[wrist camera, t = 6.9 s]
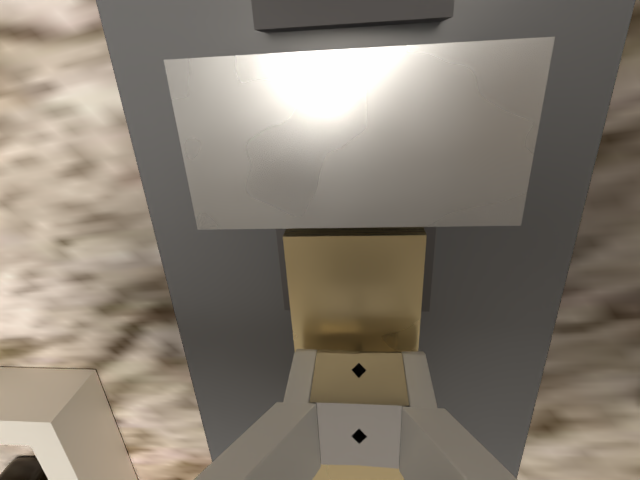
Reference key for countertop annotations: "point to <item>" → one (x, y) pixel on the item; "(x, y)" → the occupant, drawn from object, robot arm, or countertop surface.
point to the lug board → (368, 175)
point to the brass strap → (355, 299)
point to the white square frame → (63, 423)
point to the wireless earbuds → (24, 470)
